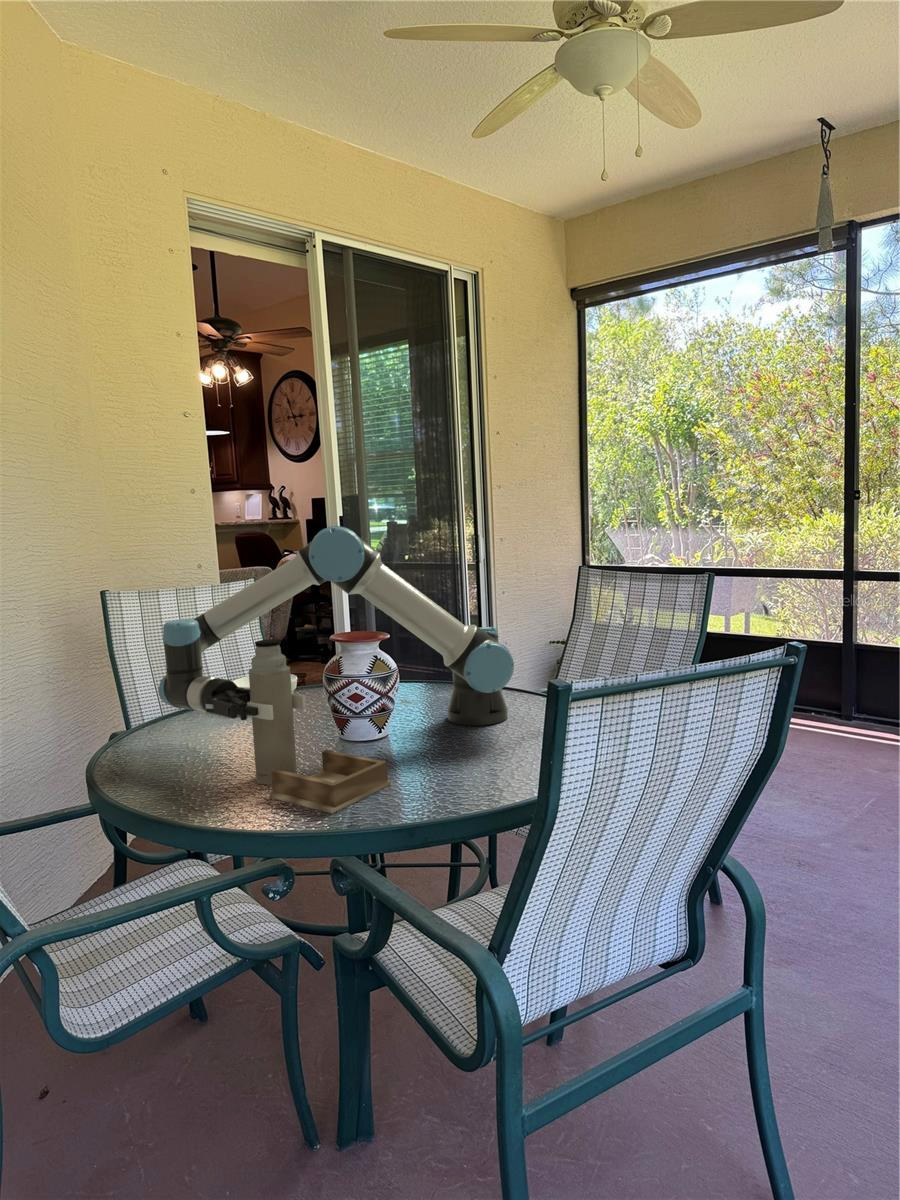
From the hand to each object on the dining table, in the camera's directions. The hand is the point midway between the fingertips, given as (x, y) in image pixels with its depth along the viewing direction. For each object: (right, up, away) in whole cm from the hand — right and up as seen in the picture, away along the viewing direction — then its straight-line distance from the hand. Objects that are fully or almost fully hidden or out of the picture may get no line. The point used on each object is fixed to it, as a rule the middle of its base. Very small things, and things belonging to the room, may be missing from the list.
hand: (288, 707), depth 146 cm
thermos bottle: (-3, -15, +4) cm, 16 cm away
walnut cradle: (+9, -15, -4) cm, 18 cm away
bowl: (-21, -9, +66) cm, 70 cm away
